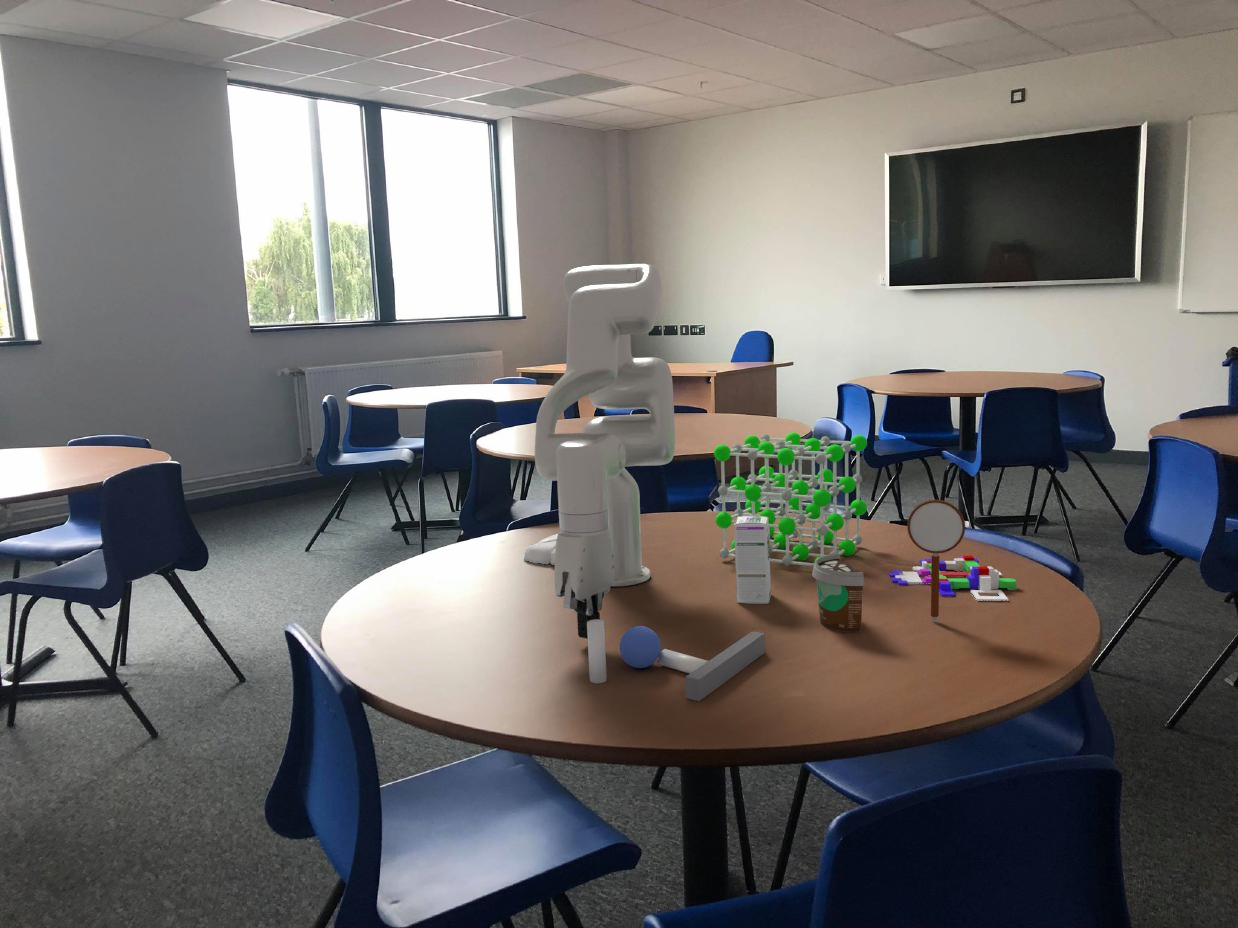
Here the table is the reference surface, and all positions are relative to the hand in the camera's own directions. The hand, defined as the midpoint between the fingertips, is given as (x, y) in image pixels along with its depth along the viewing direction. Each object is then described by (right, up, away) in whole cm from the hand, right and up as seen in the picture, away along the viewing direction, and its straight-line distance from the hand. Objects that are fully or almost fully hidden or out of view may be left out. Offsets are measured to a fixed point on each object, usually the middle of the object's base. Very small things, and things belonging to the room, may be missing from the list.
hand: (589, 636), depth 144 cm
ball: (+8, 0, -10) cm, 12 cm away
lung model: (-3, +7, +58) cm, 58 cm away
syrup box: (+28, +3, +20) cm, 35 cm away
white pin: (+11, -1, -9) cm, 14 cm away
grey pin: (+2, -4, -13) cm, 14 cm away
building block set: (+65, +5, +27) cm, 71 cm away
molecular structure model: (+41, +8, +49) cm, 64 cm away
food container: (+39, +1, +6) cm, 40 cm away
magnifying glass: (+55, +1, +5) cm, 55 cm away
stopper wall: (+20, -3, -13) cm, 24 cm away
